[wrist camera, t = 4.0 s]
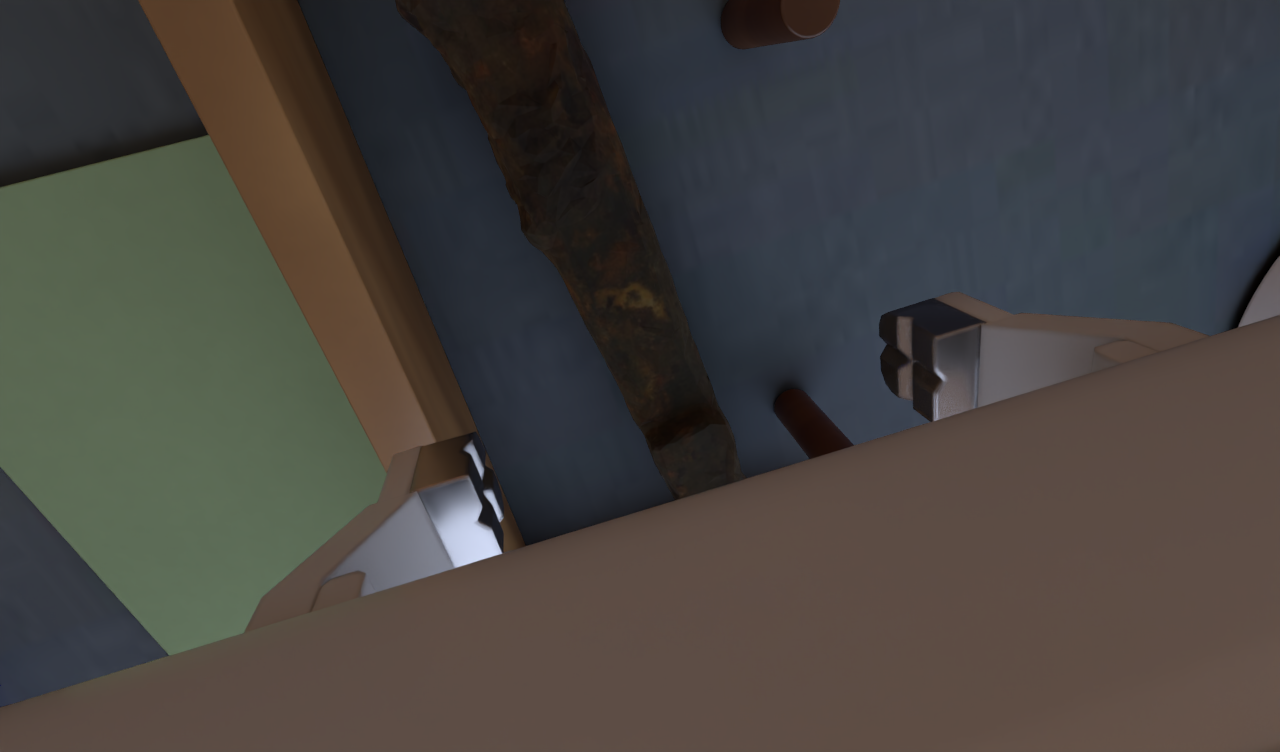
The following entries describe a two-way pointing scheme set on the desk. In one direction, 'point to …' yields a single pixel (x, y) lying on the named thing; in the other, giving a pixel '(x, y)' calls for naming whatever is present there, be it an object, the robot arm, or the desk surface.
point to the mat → (169, 390)
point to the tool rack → (370, 209)
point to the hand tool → (586, 217)
